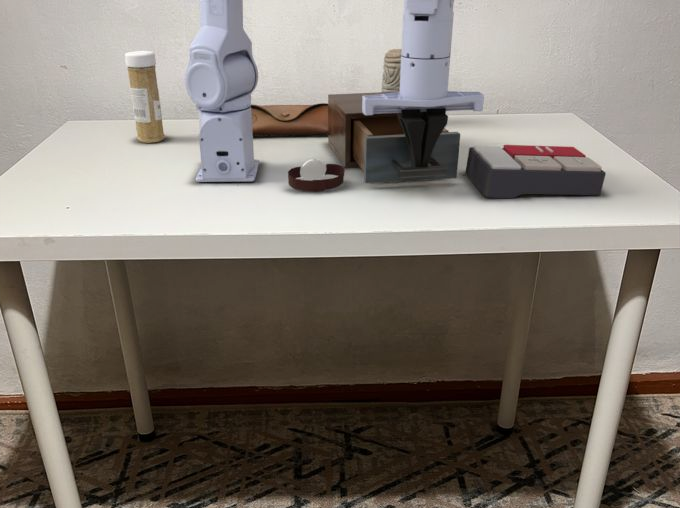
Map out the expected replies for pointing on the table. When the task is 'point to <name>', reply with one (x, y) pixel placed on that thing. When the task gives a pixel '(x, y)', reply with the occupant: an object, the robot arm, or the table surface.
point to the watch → (315, 176)
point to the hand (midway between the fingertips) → (418, 170)
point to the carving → (392, 71)
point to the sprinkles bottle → (145, 96)
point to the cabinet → (346, 123)
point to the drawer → (399, 152)
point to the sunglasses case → (290, 120)
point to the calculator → (533, 171)
